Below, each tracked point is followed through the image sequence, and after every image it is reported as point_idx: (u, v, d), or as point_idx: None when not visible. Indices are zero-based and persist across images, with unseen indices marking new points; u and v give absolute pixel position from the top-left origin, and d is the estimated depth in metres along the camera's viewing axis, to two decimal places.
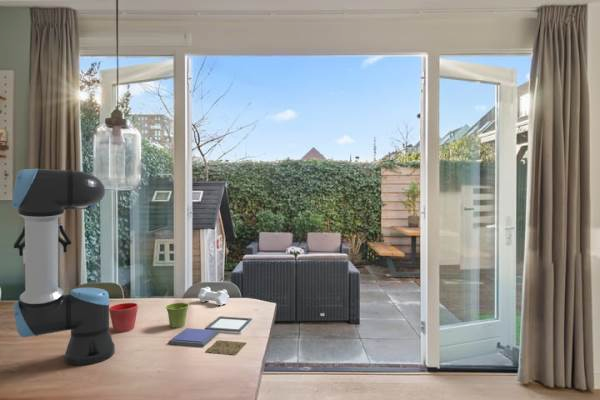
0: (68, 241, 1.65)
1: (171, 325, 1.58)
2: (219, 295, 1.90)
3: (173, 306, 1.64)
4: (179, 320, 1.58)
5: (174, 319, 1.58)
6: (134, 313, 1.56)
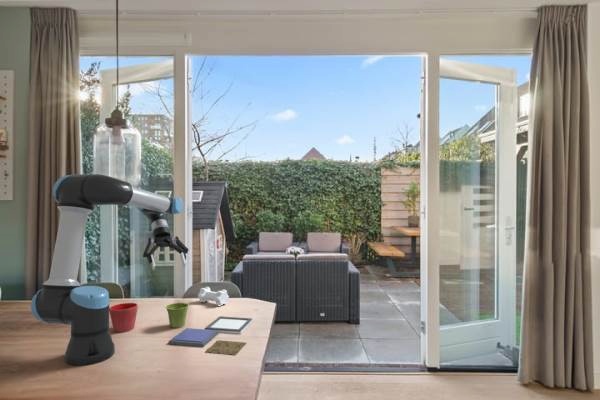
0: (185, 248, 1.79)
1: (171, 325, 1.58)
2: (219, 295, 1.89)
3: (173, 306, 1.64)
4: (179, 320, 1.58)
5: (174, 319, 1.58)
6: (134, 313, 1.56)
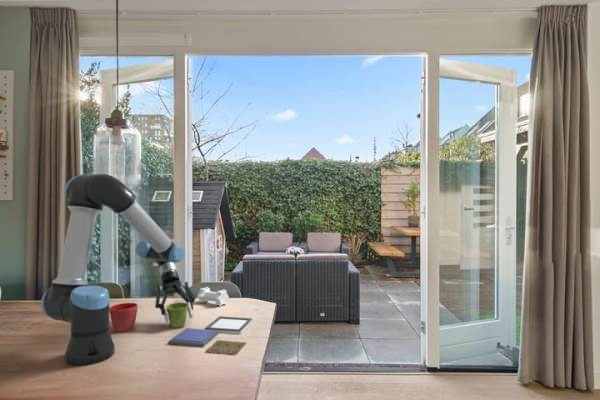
0: (193, 296, 1.67)
1: (171, 325, 1.58)
2: (219, 295, 1.89)
3: (173, 305, 1.64)
4: (179, 320, 1.58)
5: (174, 319, 1.58)
6: (134, 313, 1.56)
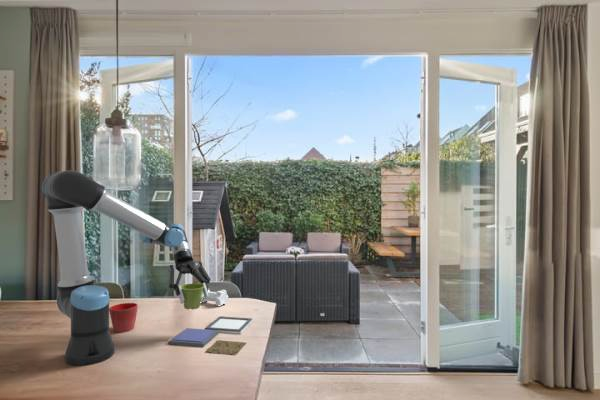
0: (207, 277, 1.58)
1: (186, 306, 1.49)
2: (218, 295, 1.89)
3: (187, 286, 1.55)
4: (195, 301, 1.49)
5: (189, 300, 1.49)
6: (134, 313, 1.56)
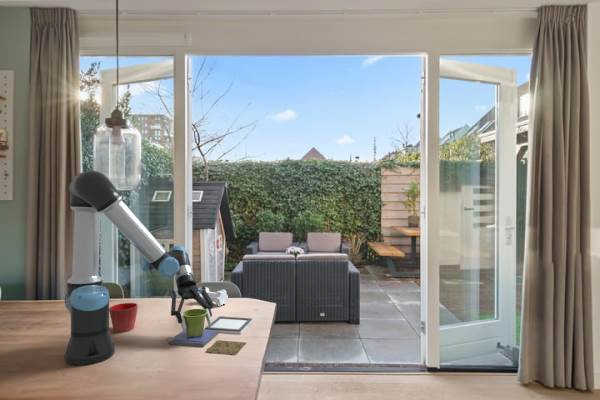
0: (211, 302, 1.53)
1: (189, 333, 1.44)
2: (218, 295, 1.89)
3: (190, 312, 1.50)
4: (197, 329, 1.44)
5: (191, 327, 1.43)
6: (134, 313, 1.56)
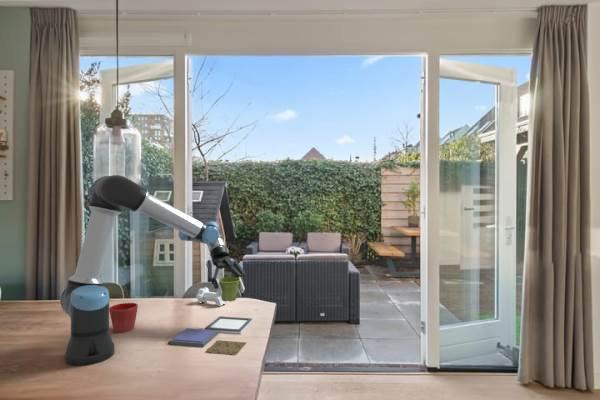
0: (242, 271, 1.67)
1: (224, 298, 1.58)
2: (218, 295, 1.89)
3: (224, 280, 1.64)
4: (232, 294, 1.58)
5: (226, 292, 1.57)
6: (134, 313, 1.56)
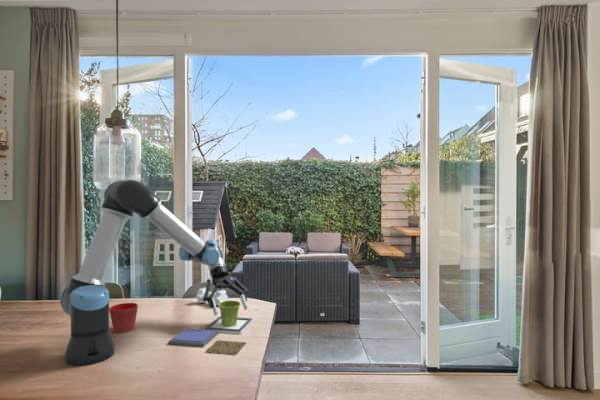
0: (245, 289, 1.68)
1: (224, 323, 1.58)
2: (218, 295, 1.89)
3: (224, 304, 1.64)
4: (232, 319, 1.58)
5: (227, 317, 1.57)
6: (134, 313, 1.56)
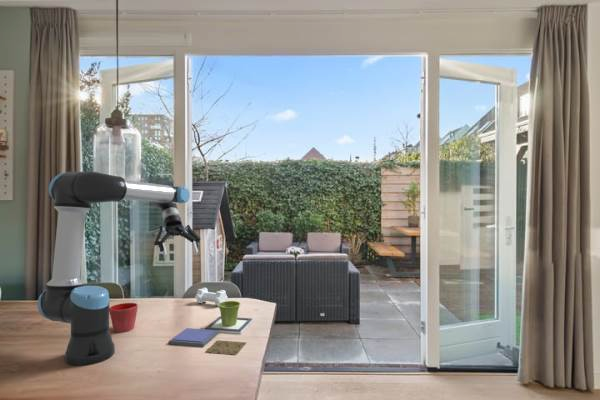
0: (197, 237, 1.75)
1: (224, 323, 1.58)
2: (218, 296, 1.89)
3: (224, 304, 1.64)
4: (232, 318, 1.58)
5: (227, 317, 1.57)
6: (134, 313, 1.56)
